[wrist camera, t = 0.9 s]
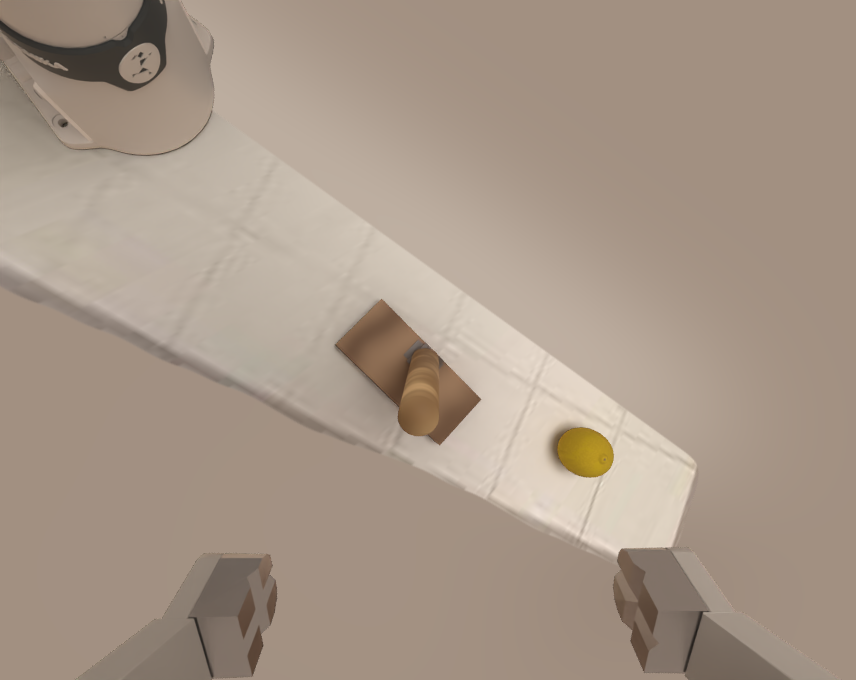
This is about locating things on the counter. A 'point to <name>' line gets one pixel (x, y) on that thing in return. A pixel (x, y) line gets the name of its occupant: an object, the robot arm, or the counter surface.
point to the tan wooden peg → (421, 393)
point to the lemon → (585, 452)
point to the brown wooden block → (403, 365)
